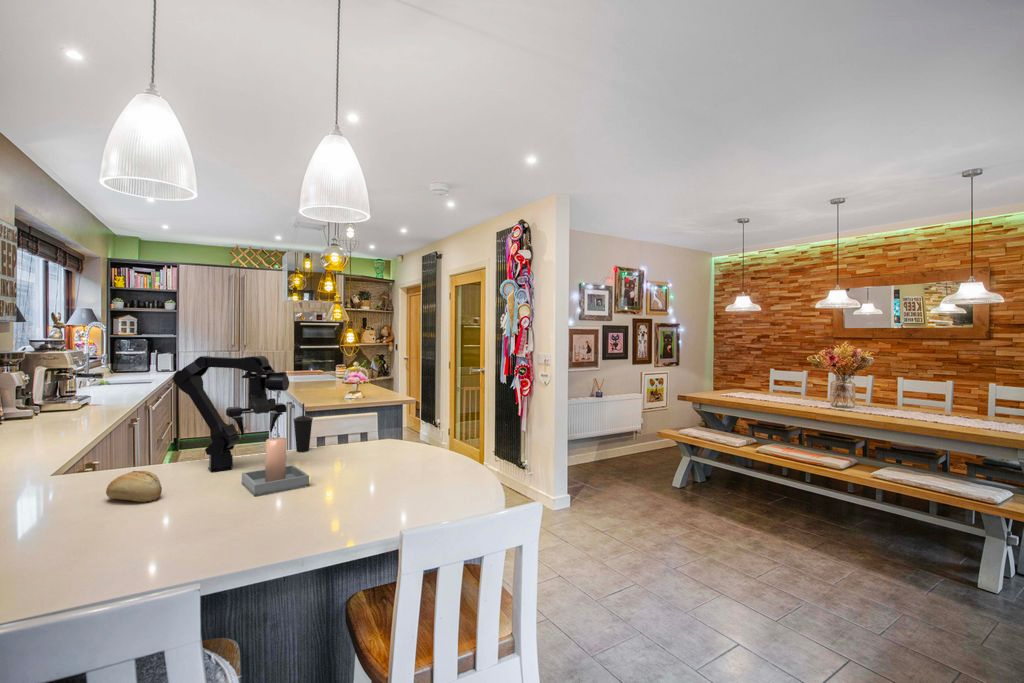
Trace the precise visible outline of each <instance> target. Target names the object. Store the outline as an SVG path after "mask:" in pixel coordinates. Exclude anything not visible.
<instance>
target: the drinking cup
mask: <svg viewBox="0 0 1024 683" xmlns="http://www.w3.org/2000/svg"><path fill="white" fill-rule="evenodd" d="M301 407H302V411H301V412H302V413H301V414H302V415H299V416H297V417H294V418H293V419H292V420H293V422H294V423H293V426H294V436H295V449H296V450H295V451H296V452H297V453H305V452H309V451H310V445H311V444H310V443H311V436H312V435H311V434H312V425H313V420H314V418H313V417H311V416H309V415H305V403H303V402H302V406H301Z"/></svg>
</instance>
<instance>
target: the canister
mask: <svg viewBox="0 0 1024 683" xmlns="http://www.w3.org/2000/svg"><path fill="white" fill-rule="evenodd" d="M287 440H288V439H287V438H286V437H271V438H267V439H265V463H264V464H265V482H271V481H276V480H282V479H286V466H287Z"/></svg>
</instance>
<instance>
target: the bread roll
mask: <svg viewBox="0 0 1024 683" xmlns="http://www.w3.org/2000/svg"><path fill="white" fill-rule="evenodd" d="M162 490H163V488H162V484H161V481H160V479H159V477H158V476H157V475H156V474H155V473H153V472H151V471H148V470H147V471H146V470H133V471H131V472H127V473H125V474H122V475H120V476H117V477H116V478H114V479H113V480H112V481H110V483H109V484H108V485H107V487H106V490H105V491H106V492H105V494H106V496H107V498H109V499H113V500H125V501H132V502H140V503H142V502H143V503H145V502H147V501H149V502H153V501H155V500H157V499H158V498H160V496H161V494H162V492H163V491H162ZM152 500H153V501H152ZM147 503H148V502H147Z"/></svg>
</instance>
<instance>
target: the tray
mask: <svg viewBox="0 0 1024 683" xmlns="http://www.w3.org/2000/svg"><path fill="white" fill-rule="evenodd" d="M241 485H242V486H243V487H244V488H245V487H246V488H247V489H248V490H249V491H250V492H251V493H252V494H253V495H254V496H255V497H259V495H260V496H265V495H270V494H269V493H271V494H275V493H274V492H276V493H280V491H281V492H285V490H286V491H290V490H289V489H292V490H296V488H297V489H301V488H300V487H302V488H306V487H305V486H307V487H309V486H310V475H309V474H308V473H306V472H304V471H303V470H302V469H300V468H298V467H297V466H295V464H289V465H286V479H282V480H276V481H271V482H265V469H258V470H252V471H246V472H242V473H241ZM247 489H246V490H247ZM249 491H248V492H249ZM250 492H249V493H250ZM251 493H250V494H251ZM252 494H251V495H252ZM264 494H265V495H264ZM253 495H252V496H253ZM254 496H253V497H254Z"/></svg>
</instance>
